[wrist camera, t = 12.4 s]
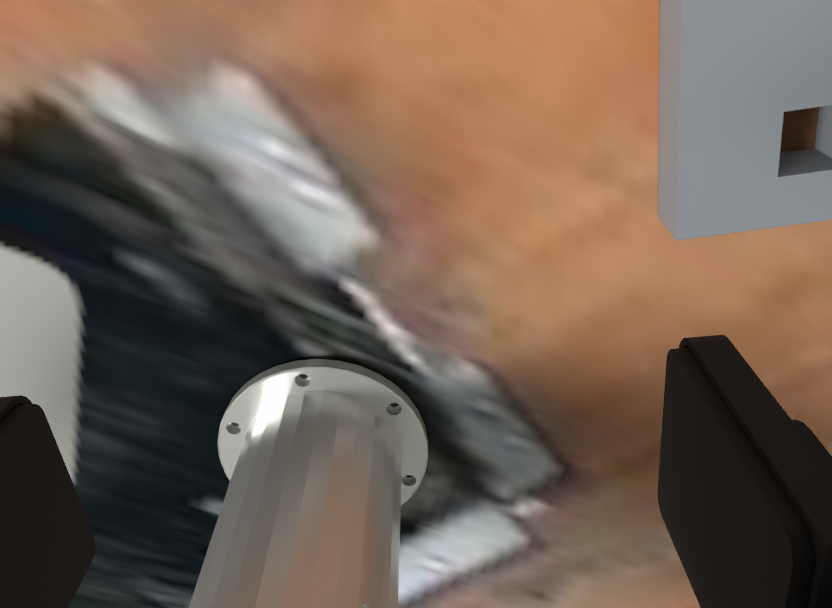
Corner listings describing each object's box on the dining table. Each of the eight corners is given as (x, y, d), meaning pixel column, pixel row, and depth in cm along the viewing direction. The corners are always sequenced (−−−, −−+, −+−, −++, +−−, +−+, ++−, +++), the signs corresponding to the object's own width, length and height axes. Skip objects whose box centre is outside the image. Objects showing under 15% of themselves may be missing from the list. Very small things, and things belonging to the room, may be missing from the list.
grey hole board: (901, 183, 36) (939, 205, 34) (657, 216, 37) (676, 240, 35) (982, -264, 28) (1041, -281, 25) (662, -206, 29) (686, -216, 26)
